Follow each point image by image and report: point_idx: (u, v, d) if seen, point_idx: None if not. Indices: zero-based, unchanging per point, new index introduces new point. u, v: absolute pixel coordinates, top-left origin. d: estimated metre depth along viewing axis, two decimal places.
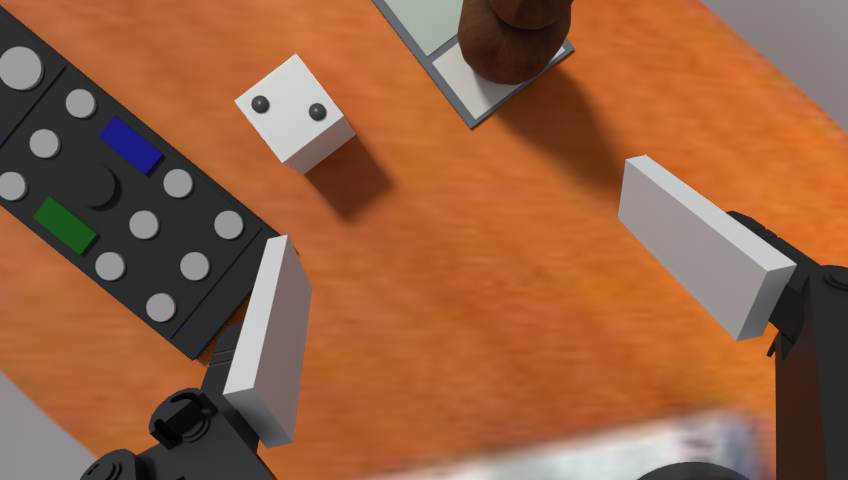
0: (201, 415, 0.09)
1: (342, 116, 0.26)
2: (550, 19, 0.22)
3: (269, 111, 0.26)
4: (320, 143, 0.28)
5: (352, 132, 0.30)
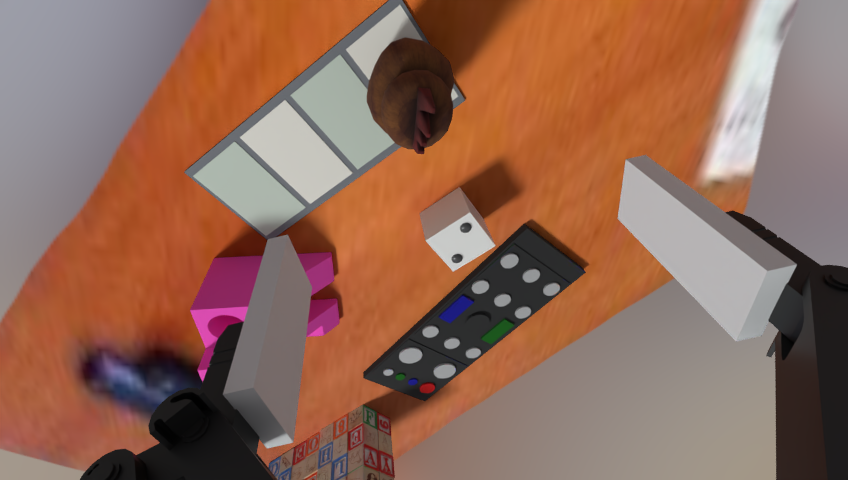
0: (201, 415, 0.09)
1: (470, 212, 0.38)
2: None
3: (462, 253, 0.40)
4: (478, 219, 0.40)
5: (461, 192, 0.41)
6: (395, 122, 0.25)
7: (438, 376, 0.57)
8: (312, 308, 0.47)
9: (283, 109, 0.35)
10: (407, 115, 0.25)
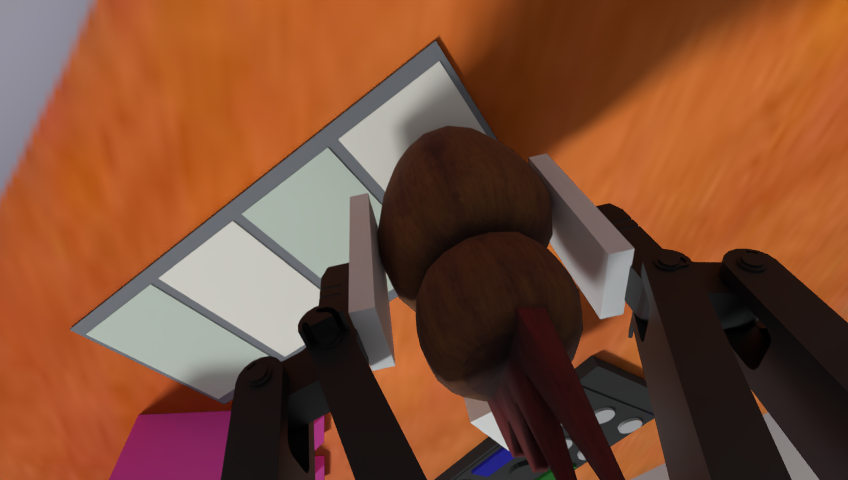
0: (337, 329, 0.11)
1: None
2: None
3: None
4: None
5: None
6: (455, 372, 0.11)
7: None
8: None
9: (230, 234, 0.20)
10: (486, 363, 0.10)
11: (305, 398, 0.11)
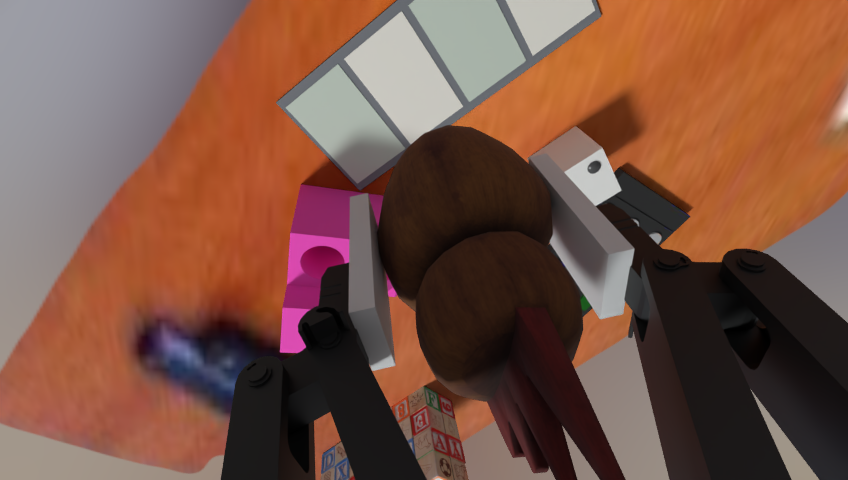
0: (337, 329, 0.11)
1: (602, 148, 0.33)
2: None
3: None
4: None
5: (580, 130, 0.36)
6: (455, 372, 0.11)
7: None
8: None
9: (397, 23, 0.30)
10: (486, 363, 0.10)
11: (305, 398, 0.11)
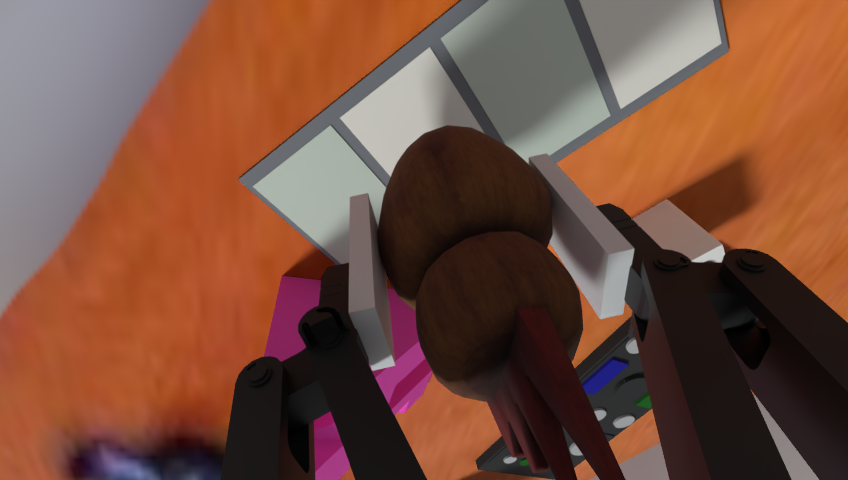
0: (337, 329, 0.11)
1: (721, 245, 0.22)
2: None
3: None
4: None
5: (676, 207, 0.25)
6: (455, 372, 0.11)
7: (576, 454, 0.43)
8: None
9: (423, 64, 0.19)
10: (486, 363, 0.10)
11: (305, 398, 0.11)
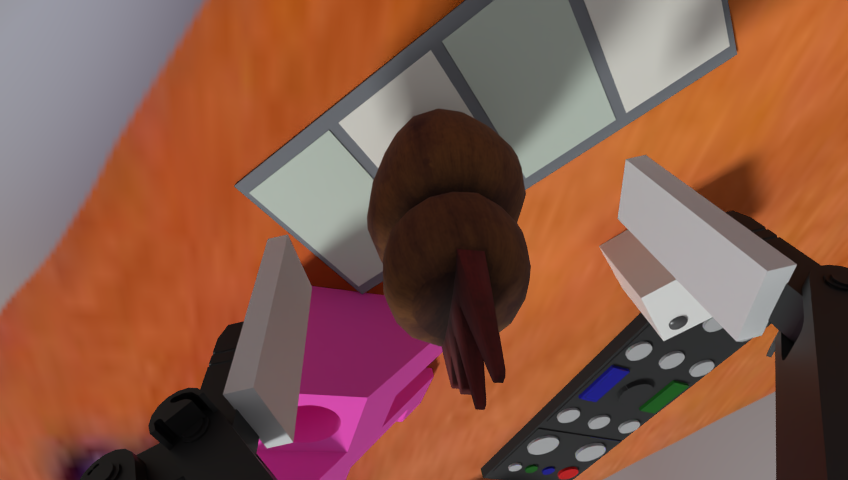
0: (201, 415, 0.09)
1: None
2: None
3: (688, 315, 0.24)
4: None
5: None
6: (407, 310, 0.12)
7: (582, 460, 0.42)
8: None
9: (424, 68, 0.19)
10: (432, 301, 0.12)
11: None
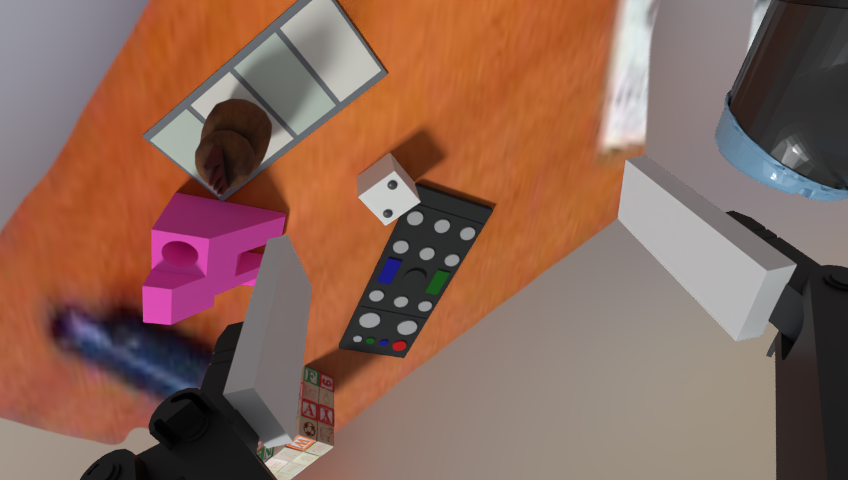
0: (201, 415, 0.09)
1: (394, 171, 0.44)
2: (249, 148, 0.35)
3: (392, 209, 0.47)
4: (405, 179, 0.46)
5: (391, 156, 0.47)
6: (201, 171, 0.34)
7: (403, 333, 0.64)
8: (254, 260, 0.52)
9: (228, 79, 0.40)
10: None
11: None
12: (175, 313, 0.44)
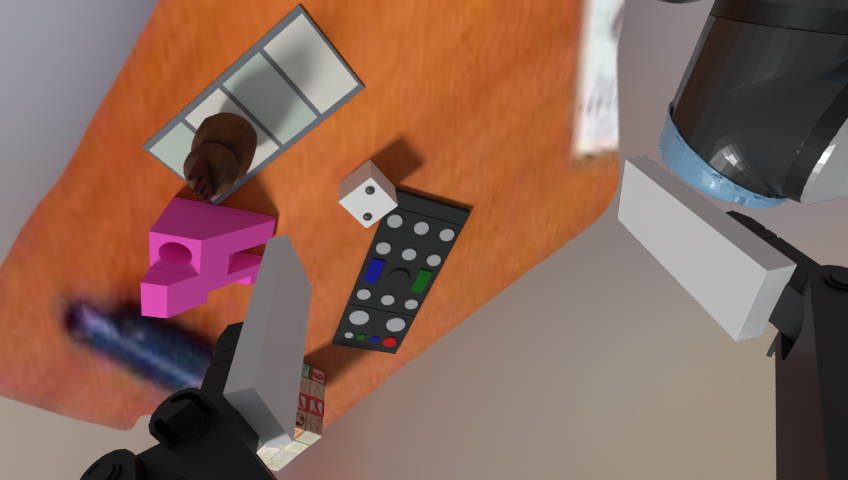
0: (201, 415, 0.09)
1: (371, 177, 0.47)
2: (233, 159, 0.39)
3: (371, 212, 0.50)
4: (383, 184, 0.50)
5: (370, 163, 0.50)
6: None
7: (392, 330, 0.68)
8: (246, 259, 0.56)
9: (217, 95, 0.44)
10: None
11: None
12: (171, 307, 0.48)
